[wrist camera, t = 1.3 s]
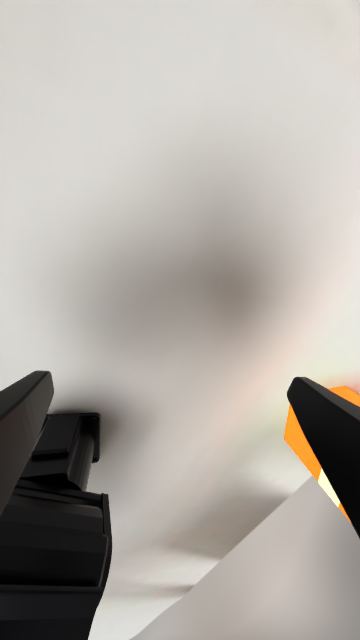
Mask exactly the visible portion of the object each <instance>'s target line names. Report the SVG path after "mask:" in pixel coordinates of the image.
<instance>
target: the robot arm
mask: <svg viewBox="0 0 360 640" xmlns="http://www.w3.org/2000/svg"><path fill="white" fill-rule="evenodd" d="M53 395H54V387H53V381H52V375H51V373H50V372H49V371H34V372H32V373H31V374H29V375H27V376H26V377H24V378H22V379H21V380H19V381H17V382H15V383H14V384H12V385H10V386H9V387H7V388H5V389H4V390H2V391H0V640H88V637H89V633H90V629H91V625H92V621H93V618H94V615H95V612H96V609H97V607H98V605H99V602H100V600H101V598H102V595H103V592H104V589H105V586H106V582H107V578H108V574H109V569H110V563H111V556H112V534H111V522H110V510H109V499H108V494H104V493H102V494H96V493H91V492H86V488H87V483H88V478H89V473H90V468H91V463H95V462H98V461H99V458H100V414H99V413H80V414H61V415H46V414H47V412H48V409H49V406H50V404H51V401H52V398H53ZM287 398H288V400H289V402H290V405H291V407H292V409H293V412H294V414H295V416H296V418H297V421H298V423H299V425H300V428H301V430H302V432H303V434H304V436H305V438H306V440H307V442H308V444H309V446H310V448H311V449H312V451H313V453H314V455H315V457H316V459H317V461H318V462H319V464H320V466H321V468H322V470H323V472H324V473H325V475H326V477H327V479H328V481H329V483H330V485H331V486H332V488H333V490H334V492H335V494H336V496H337V497H338V499H339V501H340V503H341V505H342V507H343V509H344V510H345V512H346V514H347V516H348V518H349V520H350V521H351V523H352V525H353V527H354V529H355V531H356V532H357V534H358V536H359V538H360V407H359V406H357V405H356V404H354V403H352V402H350V401H348V400H347V399H345V398H343V397H341V396H339V395H337V394H336V393H334V392H332V391H330V390H328V389H327V388H325V387H323V386H321V385H319V384H317V383H316V382H314V381H312V380H310V379H308V378H306V377H295V378H294V379H293V381H292V383H291V385H290V387H289V389H288V391H287ZM94 417H95V418H96V419H95V418H94Z"/></svg>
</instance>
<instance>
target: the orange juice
mask: <svg viewBox="0 0 360 640" xmlns="http://www.w3.org/2000/svg"><path fill="white" fill-rule="evenodd" d="M328 390H330V391H332V392H334V393H336V394H337V395H339V396H341V397H343V398H345V399H347V400H348V401H350V402H352V403H354V404H356V405H357V406H359V407H360V395H358V394H357V393H355V392H354V391H352V390H350V389H349V388H347V387H346V386H342V387H337V388H332V389H328ZM284 440H285V441H286V442H287V444H288V445H289V446H290V447H291V449H292V450H293V451H294V452H295V453H296V455H297V456H298V457H299V458H300V460H301V461H302V462H303V463H304V465H305V466H306V467H307V468H308V470H309V471H310V472H311V473H312V475H313V476H314V477H315V478H316V479H317V481H318V483H319V484H320V485H321V487H322V488H323V489H324V490H325V492H326V493H327V494H328V495H329V497H330V498H331V499H332V500H333V502H334V503H335V504H336V505H337V507H339V508H340V510H341V511H342V512H343V513H344V515H345V516H346V517H347V518H348V516H347V514H346V512H345V510H344V509H343V507H342V505H341V503H340V501H339V499H338V497H337V496H336V494H335V492H334V490H333V488H332V486H331V485H330V483H329V481H328V479H327V477H326V475H325V473H324V472H323V470H322V468H321V466H320V464H319V462H318V461H317V459H316V457H315V455H314V453H313V451H312V449H311V448H310V446H309V444H308V442H307V440H306V438H305V436H304V434H303V432H302V430H301V428H300V425H299V423H298V421H297V418H296V416H295V414H294V412H293V409H292V407H291V405H290V406H289V412H288V418H287V423H286V429H285V435H284ZM348 520H349V518H348ZM349 521H350V520H349ZM350 522H351V521H350Z"/></svg>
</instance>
